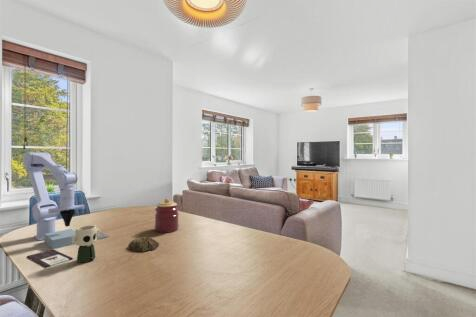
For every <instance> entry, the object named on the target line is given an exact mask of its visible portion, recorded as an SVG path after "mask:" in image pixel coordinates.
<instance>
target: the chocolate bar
mask: <svg viewBox="0 0 476 317" xmlns="http://www.w3.org/2000/svg"><path fill="white" fill-rule="evenodd" d="M26 258H28V259H29V260H31V261H33V262H34V263H37V265H38V264H39V265H40V266H42V267H44V268H45V269H48V268H51V267H53V266H57V265H59V264H62V263H66V262H69V261H72V260H73V259H74V258H73V257H71V256H69V255H67V254H64V253H62V252H60V251H58V250H57V249H52V248H51V249H48V250H44V251H40V252H36V253H33V254H29V255H26Z"/></svg>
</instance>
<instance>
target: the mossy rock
mask: <svg viewBox="0 0 476 317" xmlns="http://www.w3.org/2000/svg"><path fill="white" fill-rule="evenodd" d="M127 246H128V249H129V250H131V251H133V252H137V253H144V252H147V251H150V250H151V251H155V250H157V248H158V247H159V246H160V243H159V242H158V241H156V240H155V239H153V238H151V237H150V236H149V237H148V236H141V237H137V238H135V239H132V240H131V241H130V242H129V243H128V245H127Z"/></svg>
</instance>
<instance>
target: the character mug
mask: <svg viewBox="0 0 476 317" xmlns="http://www.w3.org/2000/svg"><path fill="white" fill-rule="evenodd" d="M75 231H76V235H73V236H72V244H73V245H76V246H78V249H77V257H76V261H78V262H79V263H84V262H91V259H92V260H95V259H96V252H95V245H94V244H95V243H96V242H97V237H98V236H99V232H100V228H97V225H91V224H90V225H89V224H88V225H81V226H78V227H76V228H75ZM75 237H76V241H75ZM75 243H76V244H75Z"/></svg>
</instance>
